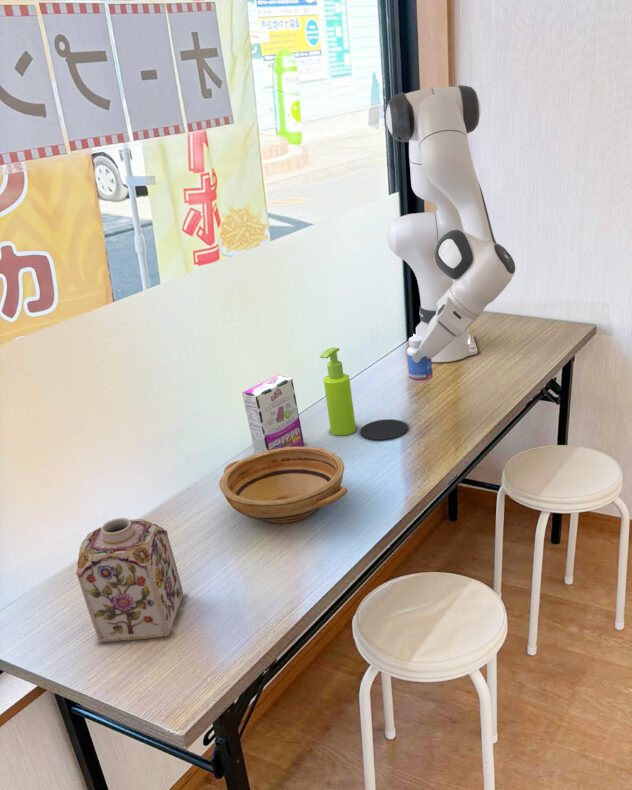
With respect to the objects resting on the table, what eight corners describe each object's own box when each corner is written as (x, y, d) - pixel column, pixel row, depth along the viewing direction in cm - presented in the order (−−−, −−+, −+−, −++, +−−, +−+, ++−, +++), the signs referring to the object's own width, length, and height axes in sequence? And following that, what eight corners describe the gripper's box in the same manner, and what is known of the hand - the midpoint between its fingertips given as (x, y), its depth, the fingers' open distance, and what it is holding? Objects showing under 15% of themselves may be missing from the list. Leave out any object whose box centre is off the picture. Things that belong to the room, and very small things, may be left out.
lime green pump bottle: (323, 435, 199) (311, 353, 189) (339, 423, 204) (328, 343, 194) (345, 438, 196) (333, 356, 186) (360, 426, 201) (350, 345, 192)
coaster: (365, 421, 204) (365, 419, 204) (410, 420, 202) (410, 419, 202) (356, 441, 194) (355, 439, 194) (403, 440, 192) (403, 438, 192)
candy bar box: (289, 440, 198) (277, 374, 190) (304, 445, 195) (293, 377, 187) (254, 460, 190) (240, 391, 182) (269, 464, 187) (256, 395, 180)
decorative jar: (186, 595, 145) (161, 503, 137) (171, 637, 135) (144, 541, 126) (116, 601, 145) (88, 510, 137) (96, 644, 135) (64, 548, 126)
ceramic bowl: (192, 519, 168) (183, 484, 165) (274, 468, 185) (268, 435, 182) (305, 556, 153) (298, 518, 149) (384, 497, 170) (380, 461, 166)
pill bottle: (433, 382, 192) (429, 341, 188) (409, 384, 193) (405, 343, 188) (432, 373, 197) (429, 333, 193) (409, 375, 198) (405, 335, 193)
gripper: (451, 287, 194) (412, 330, 200) (440, 315, 176) (398, 361, 183) (471, 306, 195) (432, 348, 202) (462, 335, 178) (420, 380, 184)
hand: (416, 354), depth 192 cm, fingers closed on pill bottle, 5 cm apart
